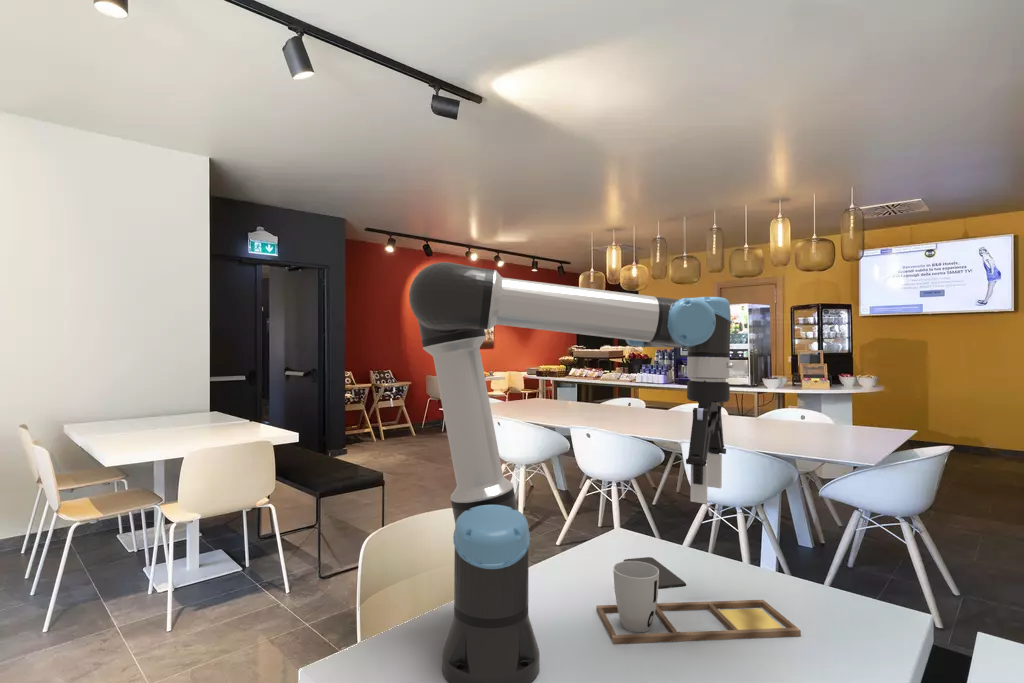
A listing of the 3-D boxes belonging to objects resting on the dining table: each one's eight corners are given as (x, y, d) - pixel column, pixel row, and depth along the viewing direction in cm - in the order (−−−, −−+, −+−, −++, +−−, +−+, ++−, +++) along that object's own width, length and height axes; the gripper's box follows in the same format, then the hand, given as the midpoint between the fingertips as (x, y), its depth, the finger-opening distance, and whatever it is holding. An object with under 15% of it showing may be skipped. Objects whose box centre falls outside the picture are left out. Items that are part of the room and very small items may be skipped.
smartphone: (688, 588, 116) (652, 560, 131) (688, 583, 116) (652, 556, 131) (654, 591, 114) (621, 562, 129) (654, 587, 114) (621, 558, 129)
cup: (660, 639, 94) (660, 580, 94) (612, 634, 96) (612, 576, 96) (657, 617, 102) (657, 562, 102) (613, 612, 104) (613, 559, 104)
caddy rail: (613, 643, 92) (613, 637, 92) (596, 610, 104) (596, 605, 104) (800, 636, 95) (800, 630, 95) (763, 604, 107) (763, 599, 107)
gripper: (716, 383, 90) (714, 513, 89) (739, 379, 111) (738, 484, 111) (670, 381, 94) (668, 505, 93) (701, 377, 115) (700, 479, 115)
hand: (706, 494), depth 102 cm, fingers open, 13 cm apart
